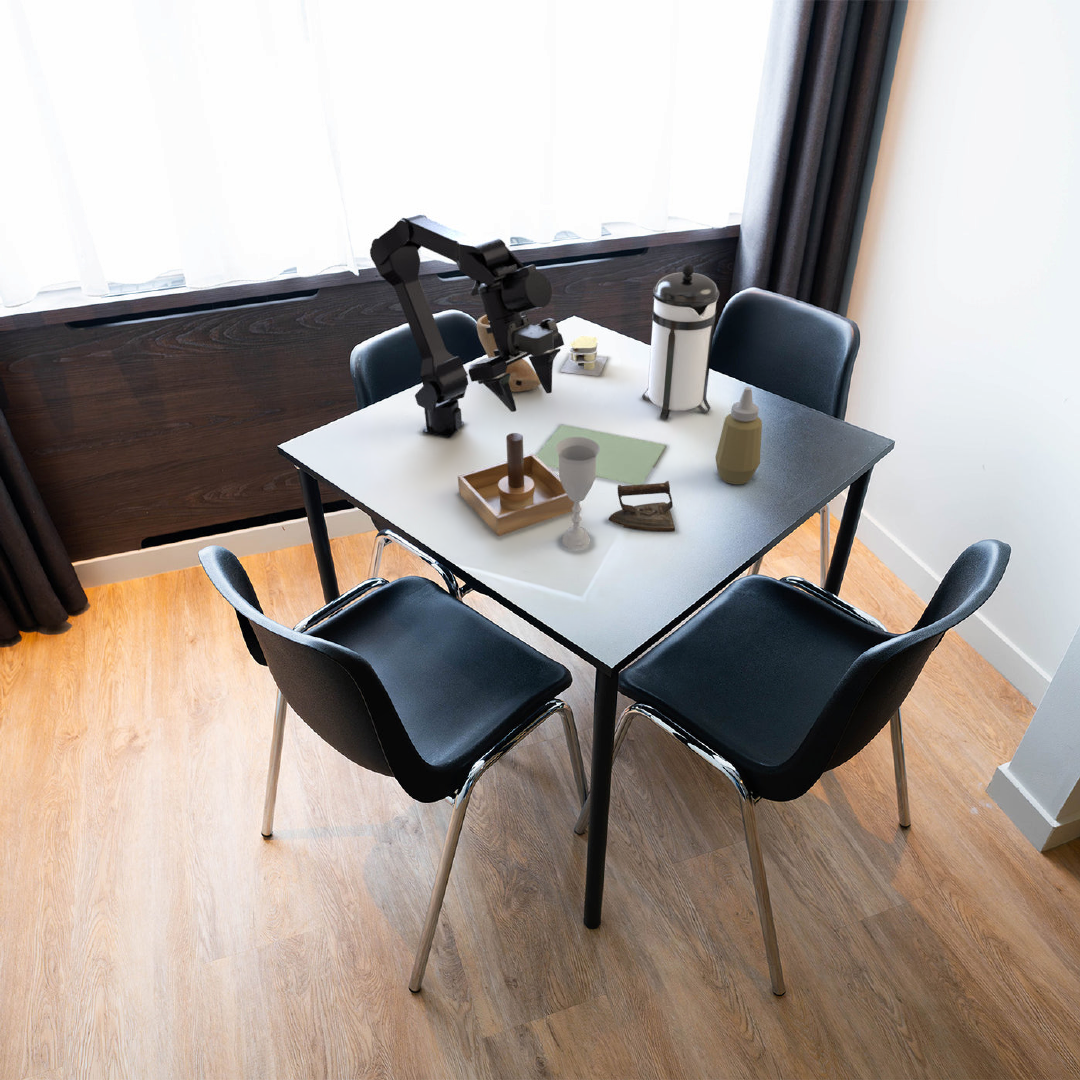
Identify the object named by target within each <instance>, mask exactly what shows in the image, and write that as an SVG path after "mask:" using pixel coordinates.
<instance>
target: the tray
mask: <svg viewBox="0 0 1080 1080" xmlns="http://www.w3.org/2000/svg"><path fill="white" fill-rule="evenodd" d="M523 460H524V475H525V476H528V477H530V478H531V479H532V480H533V481H534V487H535V492H534V502H533V504H532V505H530V506H527V507H524V508H521V509H518V510H509V509H506V508H504V507H503V506H502V505H501V504H500V495H499V493H498V483H499V481H500V480H501V479H502V478H504V477H506V476H508V467H507V460H506V461H502V462H499V463H496V464H493V465H490V466H487V467H483V468H480V469H476V470H473V471H469V472H466V473H463V474H460V475H457V485H458V494H459V495H460V496H461V497H462V498H463V500H465V502H466V503H467V504H468V505H469V506H470V507H471V508H472V510H474V512H475V513H477V515H478V516H479V517H480V518H481V519H482V520H483V521H484V523H486V525H488V527H490V529H491V530H492V531H493V532H494V533H495V534H496V535H497V537H501V536H503V535H507V534H511V533H513V532H516V531H519V530H521V529H525V528H528V527H530V526H533V525H536V524H538V523H542V522H544V521H545V522H546V521H547V520H551V519H554V518H557V517H559V516H562V515H565V514H568V513H571V512H573V510H572V507H573V506H574V501H572V500H570V499H569V497H568V496H567V494H566V492H565V490H564V488H563V486H562V483H561V481H560V478H559V474H557V473H556V472H554V470H552V469H551V467H549V466H547V465H545V464H544V463H543V462H542V461H541V460H540V459H539V458H538V457H536V455H535V454H534V453H533V452H532V453H529V454H526V455H523Z"/></svg>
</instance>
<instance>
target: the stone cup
mask: <svg viewBox="0 0 1080 1080" xmlns="http://www.w3.org/2000/svg"><path fill="white" fill-rule="evenodd" d="M477 319H478V320H477V321H476V331H477V336H478V338H479V339H478V340H479V341H480V343H481V345H482V348H483V349H484V351H485V354H486V355H487V358H491V357H495V355H494V352H493V351H495V350H497V346H496V343H495V340H494V337H493V333H489V334H488V333H487V330H486V328H487V327H490V324H489V321H488V318H487V315H486V314H484V315H482V316H480V317H479V318H477ZM496 357H497V356H496ZM506 373H511V374H510V378H509V385H510V389H511V392H517V393H518V392H525V391H529V390H533V389H535V388H538V387H540V386H542V385H541V383H540V381H539V378H538V376H537V374H536V372H535V370H534V368H533V366H531V365H530V363H529V362H528V361H527V360H526V359H524V358H522V359H520V360H518V361H516V362H514V363H512V364H510V365H508V366H507V370H506Z"/></svg>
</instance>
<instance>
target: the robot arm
mask: <svg viewBox="0 0 1080 1080" xmlns="http://www.w3.org/2000/svg"><path fill="white" fill-rule="evenodd" d="M421 247H422V248H425V249H427V250H429V251H431V252H434V253H436V254H438V255H440V256H443V257H445V258H447V259H449V260H451V261H453V262H454V263H455V264H456V265H457V269H458V270H459V271H460V272H461V273H462V274H464V275H465V276H467V277H468V278H470V280H472V281H474V286H473V287H472V289H471V292H470V295H471V296H472V297H475V296H480V300H481V303H482V305H483V309H484V312H485V315H487V318H488V321H489V324H490V327H487V328H486V330H487V333H488V334H489V333H493V337H494V340H495V343H496V346H497V350H495V351H493V352H494V355H495V357H491V358H488V357H486V358H482V359H480V360H478V361H476V362H473V363H471V364H470V365H469V367H468V371H466V368H465V366H464V363H463V359H462V358H461V357H460V355H457V356H454V355H453V354H451V353H450V352H449V351H448V350H447V348H446V346H445V343H444V341H443V337H442V335H441V333H440V330H439V328H438V327H439V326H438V325H437V322H436V320H435V317H434V315H433V312H432V309H431V307H430V304H429V302H428V299H427V296H426V294H425V291H424V289H423V286H422V283H421V280H420V278H419V275H420V266H421V258H420V254H419V250H420V249H421ZM369 255H370V258H371V261H372V262H373V264H374V266H375V268H376V269H377V272H378V274H379V275H380V277H381V278H383V279H384V280H385V281H386V282H387V283H388V284H390V285H391V286H392V288H393V289H394V291H395V294H396V297H397V299H398V301H399V304H400V306H401V308H402V311H403V313H404V316H405V318H406V319H405V320H406V321H407V324H408V326H409V330H410V331H411V334H412V337H413V339H414V342H415V345H416V347H417V349H418V351H419V354H420V356H421V357H420V358H421V360H422V361H421V369H420V379H421V384H422V387H421V388H420V389H419V390H418V391H417V392H416V393H415V394H414V398H415V401H416V404H417V406H419V407H421V408H423V409H424V418H425V427H423V429H422V430H421V431H422V433H423V434H426V435H427V434H428V435H432V436H436V437H437V436H438V437H442V438H447V439H451V438H452V437H453V436H454V435H455V434H457V432H458V431H459V430H460V429H461V428H462V427H463V426H464V425H465V422H464V421H463V419H462V409H461V407H460V406H459V405H460V404H459V403H460V402H459V400H460V399H464V398H465V396H466V391H467V388H468V385H469V380H468V376H469V378H470V381H471V382H472V383H473V382H478V385H481V384H482V385H484V386H485V387H486V388H487V389H488V390H490V391H491V393H493V394H494V395H495V396H496V397H497V398H498V399H499V401H501V402H502V404H503V405H504V406H505V407H506V408H507V409H508V410H509V411H510V412H512V413H515V412H516V411H517V405H516V402H515V398H514V395H513V391H511V389H510V385H509V378H510V374H511V373H506V370H507V366H508V365H510V364H512V363H514V362H516V361H518V360H520V359H524V358H526V357H528V359H529V362H530V364H531V365H532V366H531V367H532V368H533V370H534V371H535V373H536V374H537V376H538V378H539V381H540V383H541V385H540V386H541V387H542V389H543V391H544V392H545V394H546V395H547V394H552V391H553V367H554V361H555V359H556V357H557V355H558V354H559V353H560V352H561V350H562V349H561V348H560V347H562V346H565V342H564V338H563V335H562V334H561V332H559V328H558V325H557V323H556V320H555V319H554V318H550V317H548V318H546V319H543V320H541V322H540V323H538V324H535V325H533V324H532V323H531V322H530V318H529V317H528V315H527V314H526V315H522V313H523V312H529V311H533V310H537V309H541V308H542V309H543V308H545V307H547V306H548V305H549V303H550V302H551V300H552V295H553V289H552V284H551V282H550V280H548V277H546V276H545V274H544V273H542V272H540V271H538V269H537V267H536V265H535V264H530V265H528V266H527V265H526V266H525V265H524V264H523V263H522V262H521V260H519V259H518V258H517V257H516V256H515V255H514V253H512V251H511V250H510V249H509V248H508V247H507V245H506V243H505V242H504V241H503V239H501V238H498V237H494V236H488V235H468V234H465V233H463V232H460V231H458V230H456V229H453V228H451V227H449V226H446V225H445V224H442V223H440V222H437V221H435V220H433V219H431V218H428V217H427V216H426V215H425V214H424V213H423V214H422V213H415V214H410V215H408V216H405V217H401V218H400V220H398V221H397V222H396V223H395V224H394V226H392V227H391V228H390V229H388V230H387V231H385V232H384V233H383V234H382V235H380V236H379V237H376V238H374V239H373V240H372V242H371V247H370V248H369ZM496 356H497V357H496Z"/></svg>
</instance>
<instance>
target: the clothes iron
mask: <svg viewBox="0 0 1080 1080" xmlns="http://www.w3.org/2000/svg"><path fill="white" fill-rule="evenodd" d="M656 494H657V495H658V494H666V495H668V498H669V502H665V501H664V502H663V501H661V502H650V503H644V504H638V505H637V504H636V505H631V504H630V505H629V504H624V503H623V500H622V497H630V496H643V495H656ZM617 496H618V501H619V505H620V507H621V509H619V510H617V511H615V512H613V513H612V514H611V515H610V516H608V517H609V518H608V520H609V521H610V522H612V523H614V524H616V525H620V526H623V528H625V529H630V530H635V531H643V532H659V533H661V532H662V533H672V532H676V528H675V524H674V518H673V515H672V511H671V509H672V508H673V507H674V506H673V505H674V503H673V497H672V494H671V486H670V482H669V480H666V481H665V482H658V483H645V484H644V483H643V484H642V485H634V484H629V485H621V484H618V485H617Z"/></svg>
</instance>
